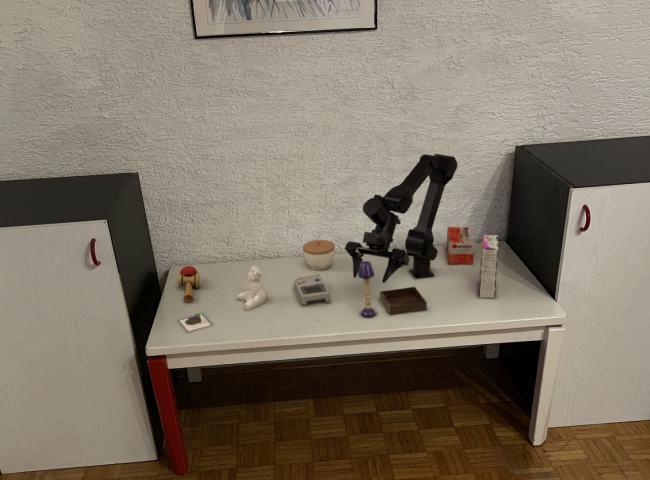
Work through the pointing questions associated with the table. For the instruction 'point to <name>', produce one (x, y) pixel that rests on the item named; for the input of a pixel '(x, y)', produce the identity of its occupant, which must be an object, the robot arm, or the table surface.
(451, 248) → the medicine box
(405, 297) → the tray
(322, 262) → the trinket box
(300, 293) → the handheld gaming device
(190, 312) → the table surface
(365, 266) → the toy lamp
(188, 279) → the kendama
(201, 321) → the puzzle cube
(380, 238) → the robot arm
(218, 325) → the table surface
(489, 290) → the candy bar box
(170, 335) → the table surface
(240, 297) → the white creature statuette
